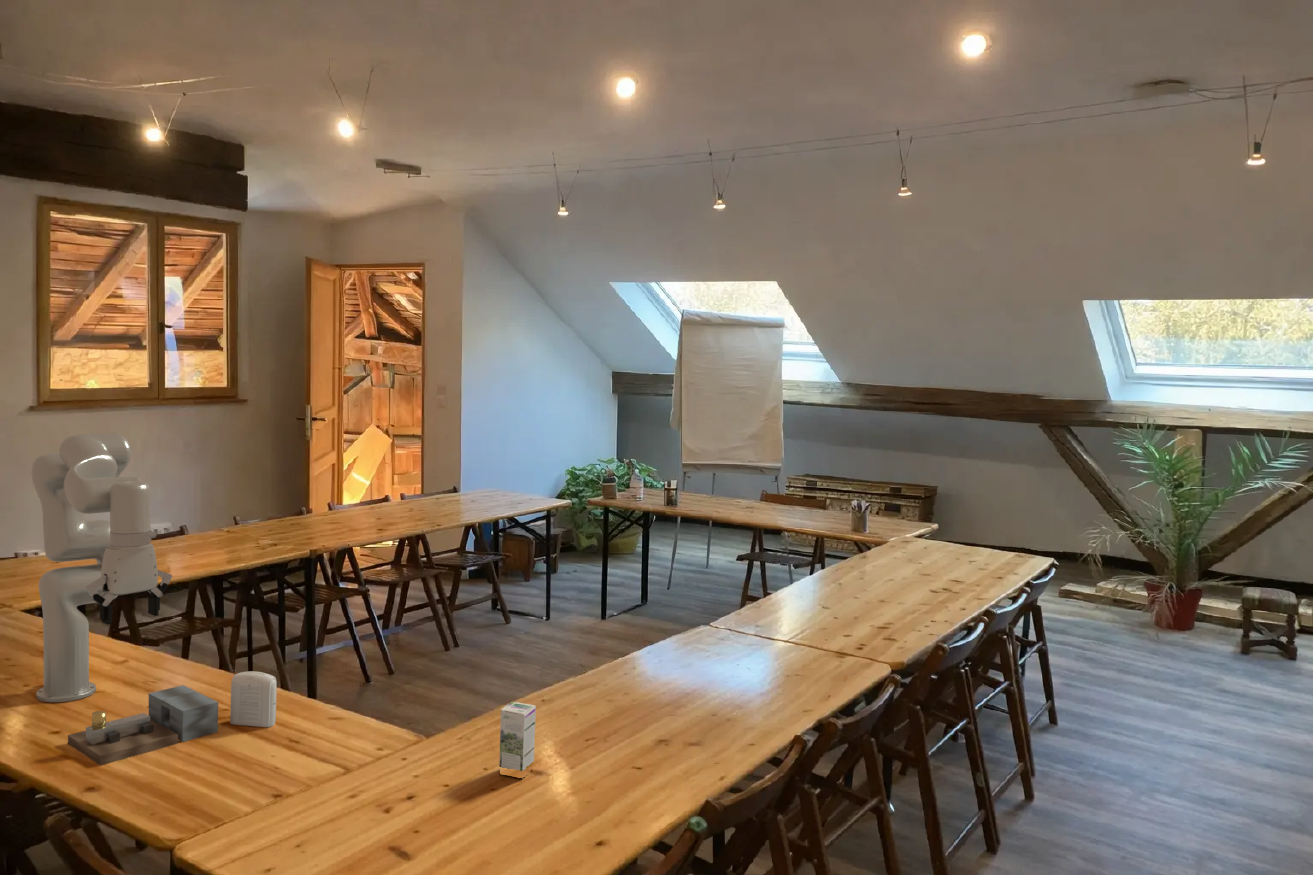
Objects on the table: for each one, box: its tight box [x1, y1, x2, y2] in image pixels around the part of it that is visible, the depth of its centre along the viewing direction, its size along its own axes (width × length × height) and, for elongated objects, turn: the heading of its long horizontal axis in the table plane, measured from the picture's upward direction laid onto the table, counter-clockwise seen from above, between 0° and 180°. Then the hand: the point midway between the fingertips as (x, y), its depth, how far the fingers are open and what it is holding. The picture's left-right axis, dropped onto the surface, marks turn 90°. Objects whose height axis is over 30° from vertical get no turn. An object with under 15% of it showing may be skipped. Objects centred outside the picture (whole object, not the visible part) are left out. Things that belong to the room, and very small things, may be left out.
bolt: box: [85, 710, 150, 745], centre depth 209 cm, size 12×3×6 cm, turn 142°
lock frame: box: [67, 684, 219, 766], centre depth 214 cm, size 25×16×7 cm, turn 142°
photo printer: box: [229, 670, 278, 728], centre depth 224 cm, size 10×4×12 cm, turn 86°
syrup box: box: [498, 701, 537, 771], centre depth 204 cm, size 6×6×14 cm
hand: (130, 618), depth 205 cm, fingers open, 9 cm apart
